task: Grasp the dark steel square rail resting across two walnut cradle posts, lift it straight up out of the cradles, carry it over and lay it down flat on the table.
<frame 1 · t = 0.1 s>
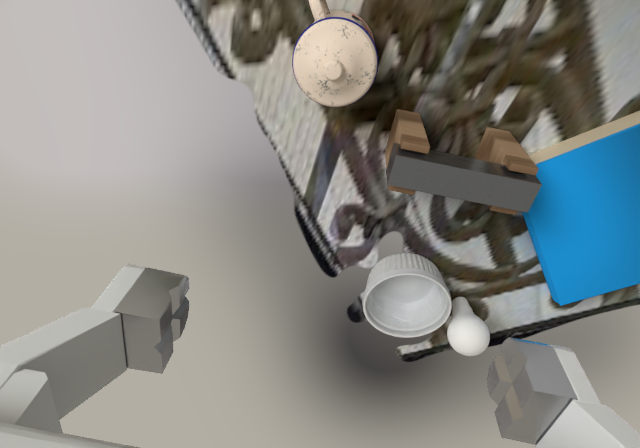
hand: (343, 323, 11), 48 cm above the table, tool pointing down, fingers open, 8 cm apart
post a: (401, 132, 57), on the table
rail: (457, 170, 50), point 9 cm above the table, touching post a, post b
ramekin: (403, 277, 71), on the table
post b: (489, 150, 58), on the table
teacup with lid: (335, 36, 52), on the table
book: (587, 210, 62), on the table
lightbulb: (458, 298, 72), on the table
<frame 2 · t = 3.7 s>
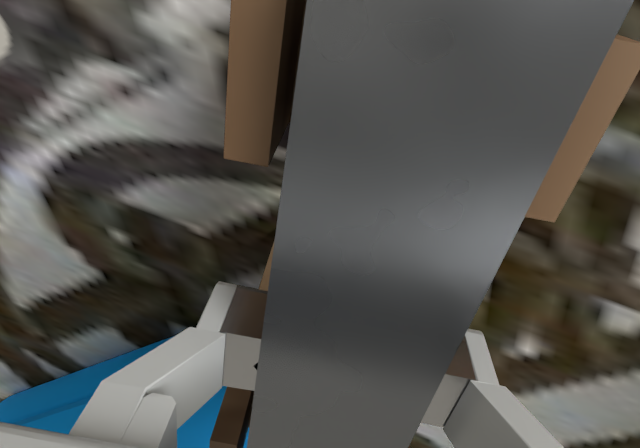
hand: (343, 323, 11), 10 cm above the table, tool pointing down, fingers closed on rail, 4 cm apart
post a: (386, 17, 16), on the table
rail: (346, 289, 12), point 9 cm above the table, touching gripper, post a, post b
post b: (330, 261, 23), on the table
book: (208, 411, 32), on the table
when the fingers open (3 cm above the table, at t = 11.4 s): rail drops 2 cm, on the table.
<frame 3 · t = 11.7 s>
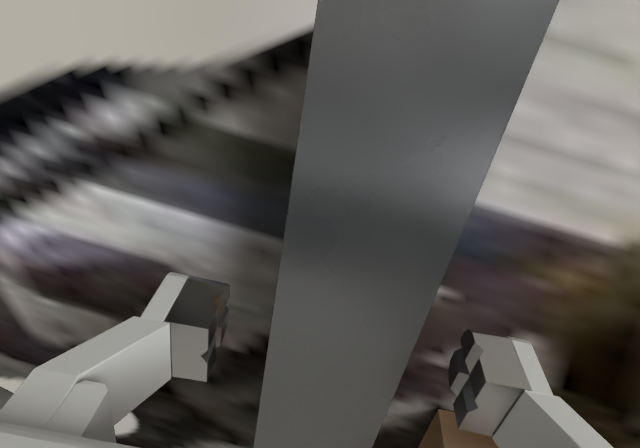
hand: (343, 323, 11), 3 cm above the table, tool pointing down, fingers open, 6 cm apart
post a: (497, 443, 18), on the table
rail: (347, 250, 14), on the table
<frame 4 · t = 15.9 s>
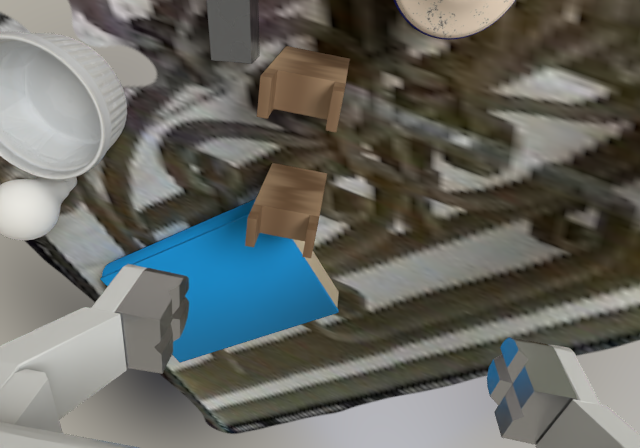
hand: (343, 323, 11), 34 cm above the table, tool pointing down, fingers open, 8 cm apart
post a: (315, 68, 41), on the table
ramekin: (77, 91, 45), on the table
post b: (297, 180, 47), on the table
book: (226, 273, 56), on the table
lightbulb: (71, 174, 50), on the table
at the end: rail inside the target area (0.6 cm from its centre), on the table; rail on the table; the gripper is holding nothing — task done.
